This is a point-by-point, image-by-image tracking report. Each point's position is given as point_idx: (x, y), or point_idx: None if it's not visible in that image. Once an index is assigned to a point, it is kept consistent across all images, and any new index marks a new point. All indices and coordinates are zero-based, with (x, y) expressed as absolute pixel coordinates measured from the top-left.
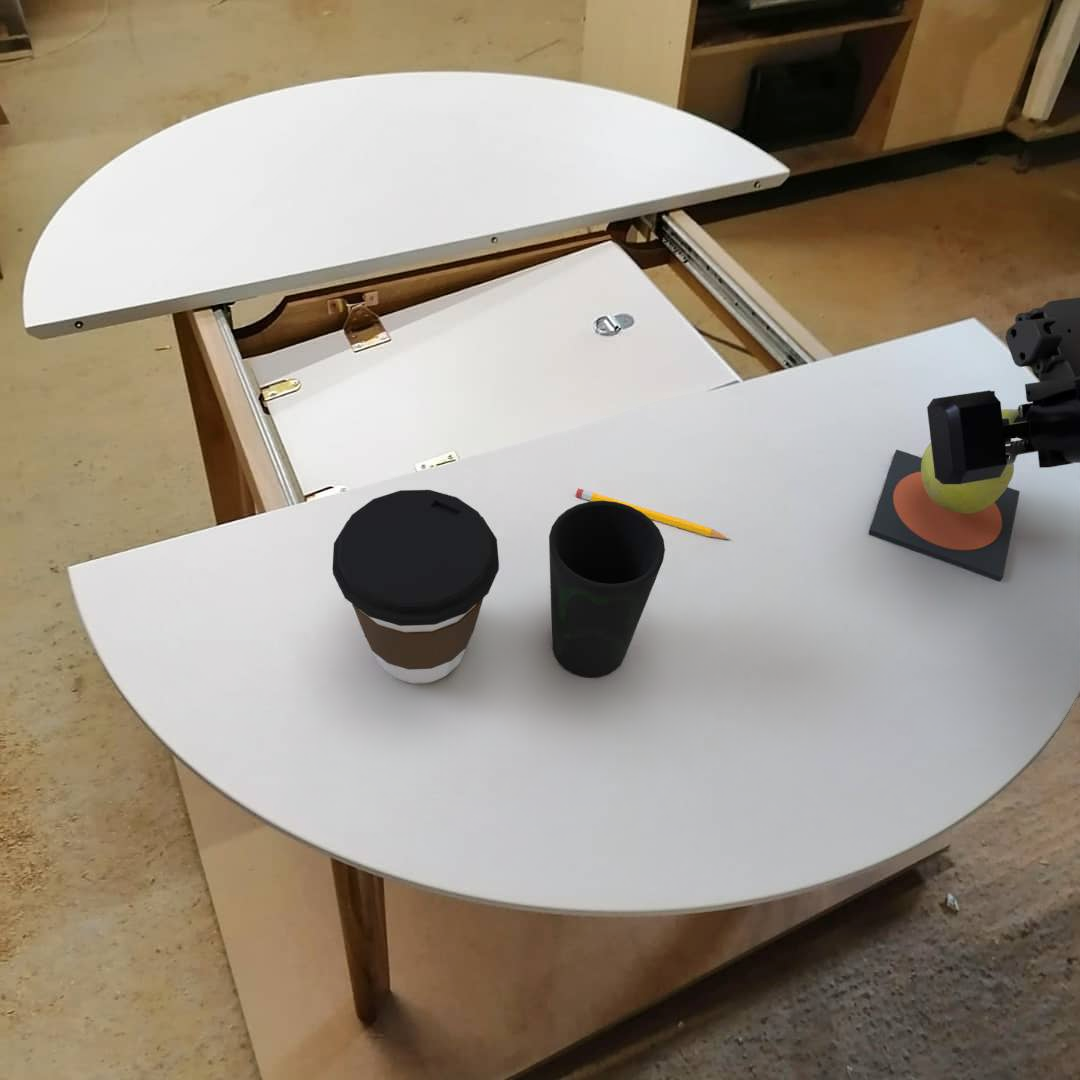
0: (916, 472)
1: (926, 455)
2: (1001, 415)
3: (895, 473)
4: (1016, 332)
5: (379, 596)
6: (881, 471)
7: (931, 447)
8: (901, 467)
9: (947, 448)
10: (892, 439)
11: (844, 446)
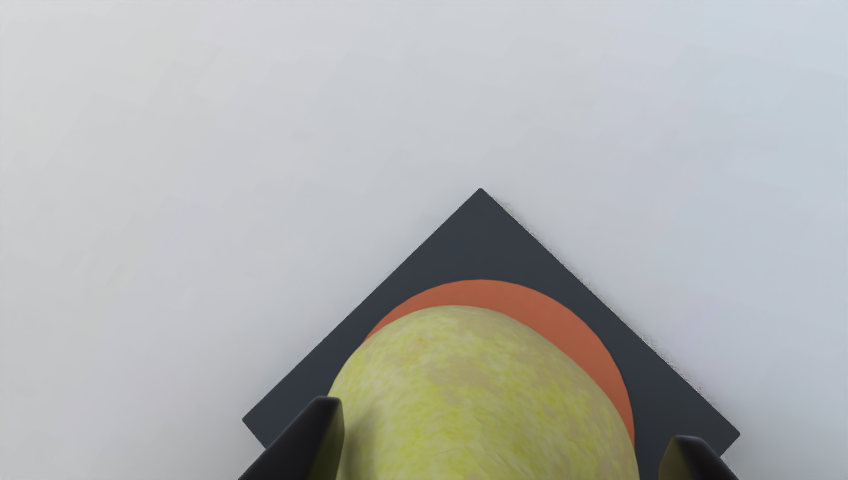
0: (480, 279)
1: (336, 377)
2: None
3: (423, 265)
4: None
5: None
6: (411, 236)
7: (348, 368)
8: (452, 250)
9: None
10: (506, 145)
11: (371, 134)
